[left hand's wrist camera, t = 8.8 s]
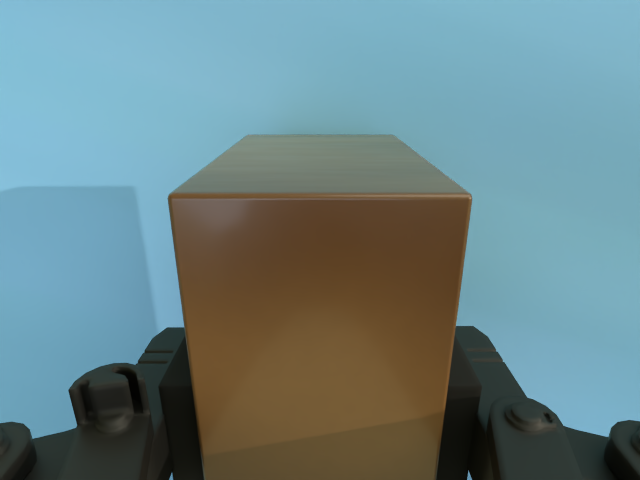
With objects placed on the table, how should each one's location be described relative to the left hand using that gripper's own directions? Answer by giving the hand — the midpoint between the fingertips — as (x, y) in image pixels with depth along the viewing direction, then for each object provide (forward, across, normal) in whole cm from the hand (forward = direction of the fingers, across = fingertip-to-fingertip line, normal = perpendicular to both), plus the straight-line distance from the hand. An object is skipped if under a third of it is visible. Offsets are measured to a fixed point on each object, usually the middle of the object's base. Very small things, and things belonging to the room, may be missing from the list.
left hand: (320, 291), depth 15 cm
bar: (+1, 0, -28) cm, 28 cm away
